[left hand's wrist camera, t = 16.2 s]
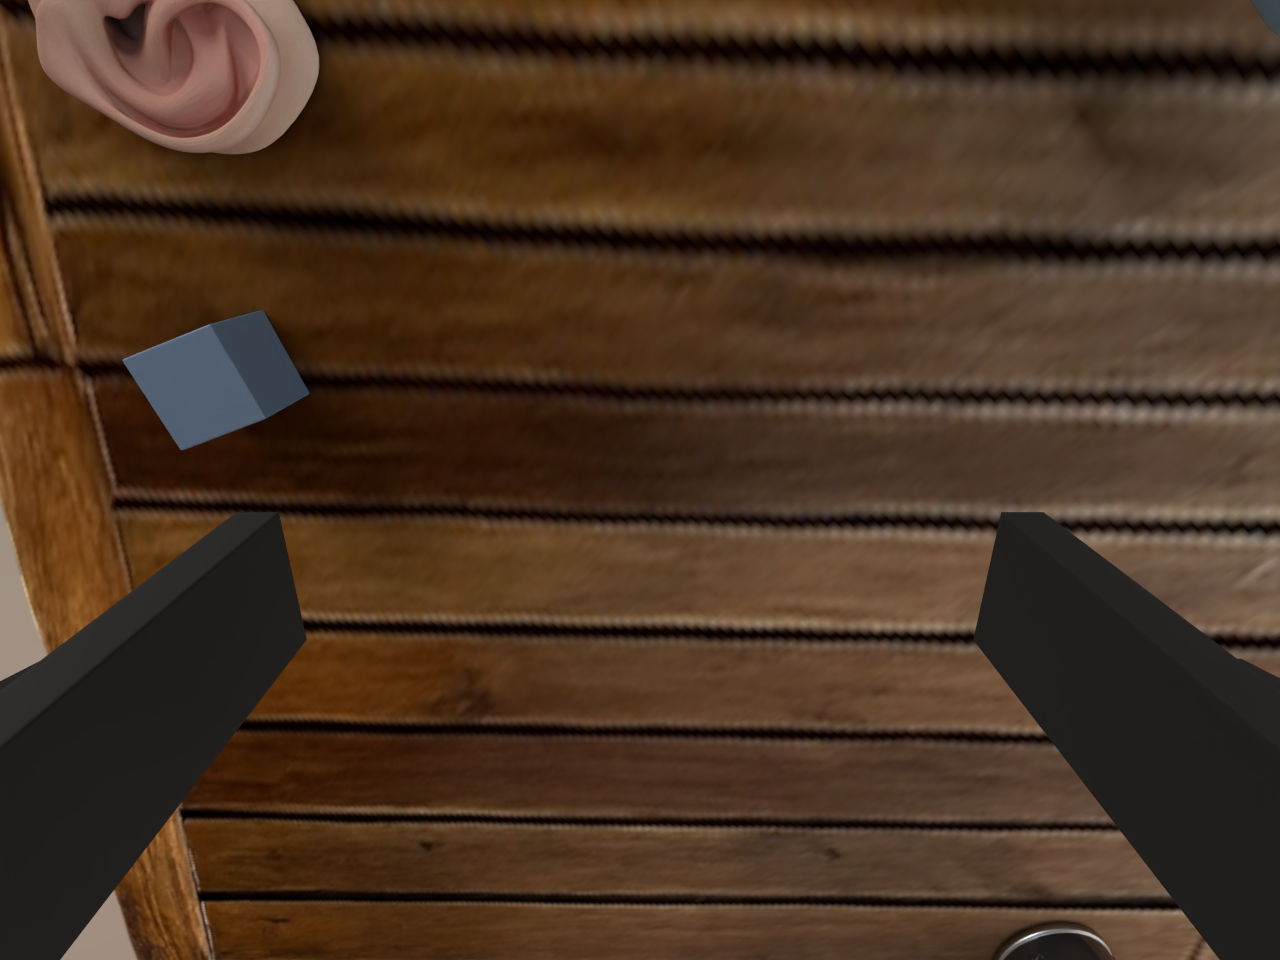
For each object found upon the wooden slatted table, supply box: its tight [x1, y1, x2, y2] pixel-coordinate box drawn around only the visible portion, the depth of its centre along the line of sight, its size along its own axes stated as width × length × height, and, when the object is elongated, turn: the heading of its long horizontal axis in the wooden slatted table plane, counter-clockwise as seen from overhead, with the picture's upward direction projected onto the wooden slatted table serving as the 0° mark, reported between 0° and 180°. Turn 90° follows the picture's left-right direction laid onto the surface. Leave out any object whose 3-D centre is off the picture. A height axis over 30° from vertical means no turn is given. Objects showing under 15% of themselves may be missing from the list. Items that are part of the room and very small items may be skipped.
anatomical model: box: [28, 0, 319, 154], centre depth 30 cm, size 13×4×12 cm
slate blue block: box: [123, 310, 309, 450], centre depth 36 cm, size 5×5×5 cm
